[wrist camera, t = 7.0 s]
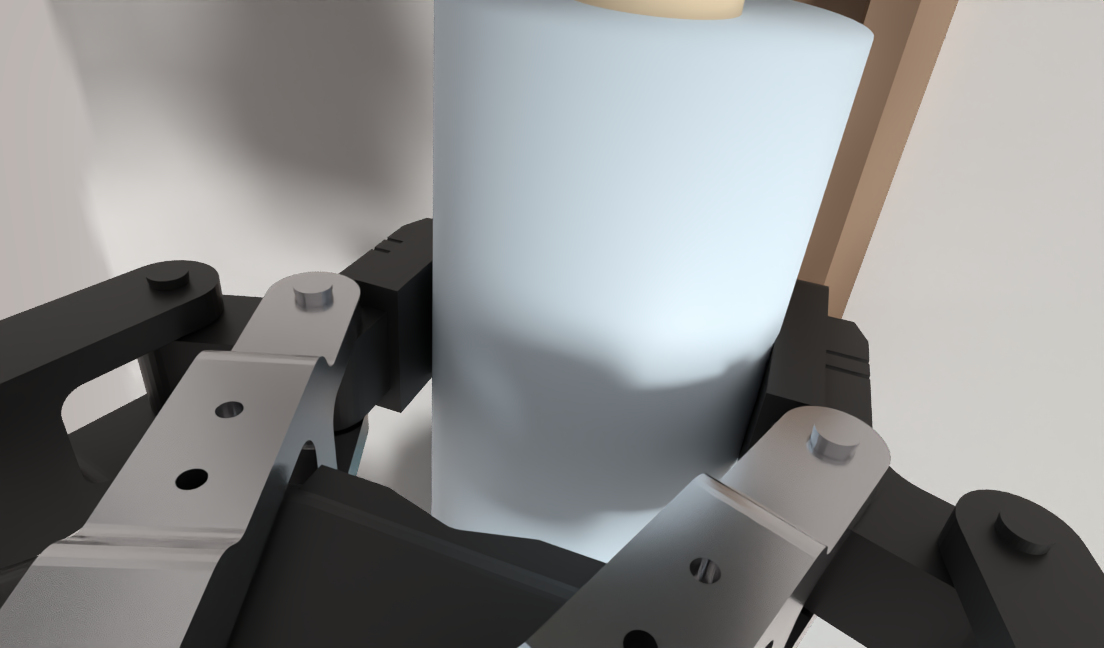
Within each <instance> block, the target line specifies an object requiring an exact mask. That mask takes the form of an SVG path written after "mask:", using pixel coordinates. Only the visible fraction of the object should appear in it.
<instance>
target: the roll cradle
mask: <svg viewBox="0 0 1104 648" xmlns="http://www.w3.org/2000/svg"><path fill="white" fill-rule="evenodd" d="M793 1H797V2H801V3H805V4H809V5H812V6H816V7H819V8H822V9H826V10H829V11H832V12H835V13H838V14H841V15H843V16H845V17H848V18H850V19H853V20H855V21H857V22H859V23H861V24H863V25H864V26H866V27H867V28H868V29H870V30H871V31H872V33H873V34H874V39H873V43H872V46H871V49H870V52H869V55H868V58H867V61H866V64H865V67H864V71H863V74H862V77H861V80H860V83H859V86H858V89H857V92H856V96H855V99H854V102H853V105H852V108H851V111H850V114H849V117H848V121H847V124H846V127H845V130H844V133H843V136H842V139H841V142H840V145H839V149H838V152H837V155H836V158H835V161H834V164H833V167H832V170H831V174H830V177H829V180H828V183H827V186H826V189H825V192H824V195H823V198H822V202H821V205H820V208H819V211H818V214H817V217H816V220H815V223H814V227H813V230H812V233H811V236H810V239H809V242H808V245H807V248H806V251H805V255H804V258H803V261H802V264H801V267H800V270H799V273H798V276H797V279H799V280H803V281H808V282H812V283H816V284H821V285H825V286H829V302H828V316H830V317H834V318H839V319H841V318H842V316H843V313H844V310H845V307H846V305H847V302H848V299H849V297H850V294H851V291H852V288H853V286H854V283H855V280H856V278H857V275H858V272H859V269H860V267H861V264H862V261H863V259H864V256H865V253H866V250H867V248H868V245H869V242H870V239H871V237H872V234H873V231H874V229H875V226H876V223H877V220H878V218H879V215H880V212H881V210H882V207H883V204H884V201H885V199H886V196H887V193H888V191H889V188H890V185H891V182H892V180H893V177H894V174H895V172H896V169H897V166H898V163H899V161H900V158H901V155H902V153H903V150H904V147H905V144H906V142H907V139H908V136H909V134H910V131H911V128H912V125H913V123H914V120H915V117H916V115H917V112H918V109H919V106H920V104H921V101H922V98H923V96H924V93H925V90H926V87H927V85H928V82H929V79H930V77H931V74H932V71H933V68H934V66H935V63H936V60H937V57H938V55H939V52H940V49H941V47H942V44H943V41H944V38H945V36H946V33H947V30H948V28H949V25H950V22H951V19H952V17H953V14H954V11H955V9H956V6H957V3H958V0H793Z"/></svg>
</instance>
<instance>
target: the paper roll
mask: <svg viewBox="0 0 1104 648" xmlns="http://www.w3.org/2000/svg"><path fill="white" fill-rule="evenodd" d="M873 39H874V34H873V33H872V31H871V30H870V29H868V28H867V27H866V26H864V25H863V24H861V23H859V22H857V21H855V20H853V19H850V18H848V17H845V16H843V15H841V14H838V13H835V12H832V11H829V10H826V9H822V8H819V7H816V6H812V5H809V4H805V3H801V2H797V1H793V0H434V100H433V302H432V503H431V516H433V517H435V518H436V519H438V520H439V521H441V522H442V523H444V524H445V525H447V526H449V527H452V528H454V529H459V530H466V531H474V532H482V533H490V534H498V535H506V536H514V537H521V538H529V539H537V540H541V541H544V542H547V543H550V544H553V545H556V546H558V547H561V548H564V549H567V550H570V551H573V552H576V553H579V554H582V555H584V556H587V557H590V558H593V559H596V560H599V561H602V562H605V563H608V562H609V561H610V560H611V559H612V558H613V557H614V556H615V555H616V554H617V553H618V552H619V551H620V550H621V549H622V548H623V547H624V546H625V545H626V544H627V543H628V542H629V541H630V540H631V539H632V538H633V537H634V536H635V535H637V534H638V533H639V532H640V531H641V530H642V529H643V528H644V527H645V526H646V525H647V524H648V523H649V522H650V521H651V520H652V519H653V518H654V517H655V516H656V515H657V514H658V513H659V512H660V511H661V510H662V509H663V508H664V507H665V506H666V505H668V504H669V503H670V502H671V501H672V500H673V499H674V498H675V497H676V496H677V495H678V494H679V493H680V492H681V491H682V490H683V489H684V488H685V487H686V486H687V485H688V484H689V483H690V482H691V481H692V480H694V479H695V478H696V477H697V476H699V475H701V474H703V473H707V474H708V475H710V476H712V477H713V478H715V479H717V480H718V481H719V480H720V479H721V478H722V477H723V476H724V475H725V474H726V473H727V472H728V471H729V470H730V469H731V468H732V467H733V466H734V465H735V464H736V463H737V460H738V456H739V453H740V450H741V446H742V443H743V440H744V437H745V434H746V431H747V427H748V424H749V421H750V418H751V415H752V412H753V408H754V405H755V402H756V399H757V396H758V392H759V389H760V386H761V383H762V380H763V377H764V373H765V370H766V367H767V364H768V361H769V358H770V354H771V351H772V348H773V345H774V342H775V340H776V338H777V336H778V334H779V332H780V329H781V326H782V323H783V320H784V317H785V314H786V311H787V308H788V305H789V301H790V298H791V295H792V292H793V289H794V286H795V283H796V280H797V276H798V273H799V270H800V267H801V264H802V261H803V258H804V255H805V251H806V248H807V245H808V242H809V239H810V236H811V233H812V230H813V227H814V223H815V220H816V217H817V214H818V211H819V208H820V205H821V202H822V198H823V195H824V192H825V189H826V186H827V183H828V180H829V177H830V174H831V170H832V167H833V164H834V161H835V158H836V155H837V152H838V149H839V145H840V142H841V139H842V136H843V133H844V130H845V127H846V124H847V121H848V117H849V114H850V111H851V108H852V105H853V102H854V99H855V96H856V92H857V89H858V86H859V83H860V80H861V77H862V74H863V71H864V67H865V64H866V61H867V58H868V55H869V52H870V49H871V46H872V43H873Z"/></svg>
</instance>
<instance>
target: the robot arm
mask: <svg viewBox="0 0 1104 648" xmlns="http://www.w3.org/2000/svg"><path fill="white" fill-rule="evenodd" d="M432 302H433V219H430V218H425V219H422V220H419V221H416V222H413V223H410V224H407V225H404V226H402V227H401V228H400V229H398V230H397V231H396V232H394V233H393V234H392V235H390V236H389V237H388V239H387V240H383V241H382V242H381V243H379V244H378V245H377V246H375V249H374V250H373V249H371V250H370V251H369V252H367V253H366V254H365V255H363V256H362V257H361V258H359V259H358V260H357V261H355V262H354V263H353V264H351V265H350V266H348V267H347V268H346V269H344V270H343V271H342V272H340V273H339V274H336V273H331V272H306V273H300V274H295V275H292V276H289V277H286V278H283V279H281V280H279V281H278V282H276V283H274V284H273V285H272V286H271V287H270V288H269V289H268V291H267V292H266V294H265V296H264V297H263V298H261V297H247V296H234V295H222V291H221V285H220V280H219V275H218V273H217V271H216V270H215V269H214V268H213V267H211V266H209V265H207V264H204V263H200V262H196V261H186V260H174V261H165V262H159V263H154V264H150V265H147V266H144V267H141V268H138V269H135V270H133V271H130V272H127V273H125V274H122V275H120V276H117V277H114V278H112V279H109V280H107V281H104V282H101V283H99V284H96V285H93V286H90V287H88V288H85V289H83V290H80V291H77V292H74V293H72V294H69V295H67V296H64V297H61V298H59V299H56V300H54V301H51V302H48V303H45V304H43V305H40V306H37V307H35V308H32V309H29V310H27V311H24V312H21V313H19V314H16V315H14V316H11V317H8V318H6V319H3V320H0V648H797V646H798V645H799V643H800V642H801V640H802V639H803V637H804V635H805V634H806V632H807V631H808V629H809V628H810V626H811V624H812V623H813V621H814V620H815V618H816V617H817V616H818V617H820V618H821V619H823V620H825V621H826V622H828V623H829V624H831V625H832V626H834V627H836V628H837V629H839V630H840V631H842V632H843V633H845V634H847V635H848V636H850V637H851V638H853V639H854V640H856V641H857V642H859V643H861V644H862V645H864V646H865V647H867V648H1104V573H1103V572H1102V570H1101V569H1100V567H1099V566H1098V564H1097V562H1096V561H1095V559H1094V558H1093V556H1092V555H1091V553H1090V551H1089V550H1088V548H1087V547H1086V545H1085V544H1084V542H1083V541H1082V540H1081V538H1080V537H1079V536H1078V535H1077V534H1076V533H1075V532H1074V531H1073V530H1072V528H1070V527H1069V526H1068V525H1067V524H1066V523H1065V522H1064V521H1062V520H1061V519H1060V518H1058V517H1057V516H1056V515H1054V514H1053V513H1051V512H1050V511H1048V510H1047V509H1045V508H1043V507H1042V506H1040V505H1038V504H1036V503H1034V502H1032V501H1030V500H1027V499H1025V498H1022V497H1020V496H1017V495H1014V494H1010V493H1007V492H1002V491H997V490H976V491H971V492H969V493H967V494H965V495H963V496H962V497H961V498H960V499H959V501H958V503H957V504H956V506H954V505H952V504H950V503H948V502H946V501H944V500H942V499H940V498H938V497H936V496H934V495H932V494H930V493H928V492H926V491H924V490H922V489H920V488H918V487H917V486H915V485H913V484H911V483H910V482H908V481H907V480H905V479H904V478H903V477H901V476H900V475H899V474H898V473H896V472H895V471H894V470H893V469H892V468H891V467H890V466H889V465H890V460H891V456H890V451H889V449H888V446H887V444H886V443H885V441H884V440H883V438H882V437H881V436H880V435H879V434H878V433H877V432H876V431H875V430H874V429H873V428H872V408H871V387H870V379H869V377H870V366H869V364H868V363H869V345H868V341H867V339H866V338H865V336H864V335H863V334H862V332H861V331H860V330H859V328H858V327H857V325H856V324H855V323H854V322H851V321H847V320H843V319H839V318H834V317H830V316H828V302H829V286H825V285H821V284H816V283H812V282H808V281H803V280H799V279H797V280H796V283H795V286H794V289H793V292H792V295H791V298H790V301H789V305H788V308H787V311H786V314H785V317H784V320H783V323H782V326H781V329H780V332H779V334H778V336H777V338H776V340H775V342H774V345H773V348H772V351H771V354H770V358H769V361H768V364H767V367H766V370H765V373H764V377H763V380H762V383H761V386H760V389H759V392H758V396H757V399H756V402H755V405H754V408H753V412H752V415H751V418H750V421H749V424H748V427H747V431H746V434H745V437H744V440H743V443H742V446H741V450H740V453H739V456H738V460H737V463H736V464H735V465H734V466H733V467H732V468H731V469H730V470H729V471H728V472H727V473H726V474H725V475H724V476H723V477H722V478H721V479H720V480H719V481H718V480H717V479H715V478H713V477H712V476H710V475H708V474H707V473H703V474H701V475H699V476H697V477H696V478H695V479H694V480H692V481H691V482H690V483H689V484H688V485H687V486H686V487H685V488H684V489H683V490H682V491H681V492H680V493H679V494H678V495H677V496H676V497H675V498H674V499H673V500H672V501H671V502H670V503H669V504H668V505H666V506H665V507H664V508H663V509H662V510H661V511H660V512H659V513H658V514H657V515H656V516H655V517H654V518H653V519H652V520H651V521H650V522H649V523H648V524H647V525H646V526H645V527H644V528H643V529H642V530H641V531H640V532H639V533H638V534H637V535H635V536H634V537H633V538H632V539H631V540H630V541H629V542H628V543H627V544H626V545H625V546H624V547H623V548H622V549H621V550H620V551H619V552H618V553H617V554H616V555H615V556H614V557H613V558H612V559H611V560H610V561H609V562H608V563H605V562H602V561H599V560H596V559H593V558H590V557H587V556H584V555H582V554H579V553H576V552H573V551H570V550H567V549H564V548H561V547H558V546H556V545H553V544H550V543H547V542H544V541H541V540H537V539H529V538H521V537H514V536H506V535H498V534H490V533H482V532H474V531H466V530H459V529H454V528H452V527H449V526H447V525H445V524H444V523H442V522H441V521H439V520H438V519H436V518H435V517H433V516H431V515H430V514H428V513H427V512H425V511H424V510H422V509H421V508H419V507H418V506H416V505H415V504H413V503H412V502H410V501H408V500H407V499H405V498H404V497H402V496H401V495H399V494H398V493H396V492H395V491H393V490H392V489H390V488H388V487H386V486H383V485H380V484H377V483H374V482H371V481H368V480H365V479H363V478H360V477H357V476H356V474H357V471H358V467H359V464H360V460H361V456H362V453H363V449H364V445H365V442H366V438H367V435H368V430H369V423H368V413H369V412H370V410H371V409H372V408H373V407H374V406H375V405H377V406H381V407H384V408H387V409H390V410H393V411H396V412H400V413H401V412H402V411H403V410H404V409H405V408H406V407H407V405H408V404H409V403H410V402H411V401H412V400H413V398H414V397H415V396H416V395H417V394H418V393H419V391H420V390H421V389H422V388H423V387H424V386H425V384H426V383H427V382H428V381H429V380H430V379H431V378H432ZM135 359H138V362H139V366H140V370H141V373H142V377H143V381H144V384H145V388H146V392H147V394H145V395H143V396H142V397H140V398H138V399H136V400H134V401H132V402H130V403H128V404H126V405H124V406H122V407H120V408H118V409H117V410H114V411H113V412H111V413H109V414H107V415H105V416H103V417H101V418H99V419H97V420H95V421H94V422H91V423H89V424H87V425H86V426H84V427H82V428H80V429H78V430H76V431H74V432H72V433H70V434H67V432H66V429H65V426H64V423H63V420H62V417H61V410H62V406H63V403H64V401H65V399H66V398H67V396H68V395H69V394H70V393H71V392H72V391H73V390H74V389H76V388H77V387H78V386H80V385H82V384H84V383H86V382H88V381H90V380H93V379H95V378H97V377H99V376H101V375H103V374H105V373H107V372H109V371H112V370H114V369H115V368H118V367H120V366H122V365H124V364H126V363H128V362H131V361H133V360H135ZM79 529H81V530H80V531H79V532H78V533H76V534H75V535H74V536H72V537H70V538H66V537H68V536H70V535H71V534H73V533H75V532H76V531H78V530H79ZM65 538H66V539H65ZM39 554H40V555H39ZM37 555H39V556H37Z"/></svg>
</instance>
